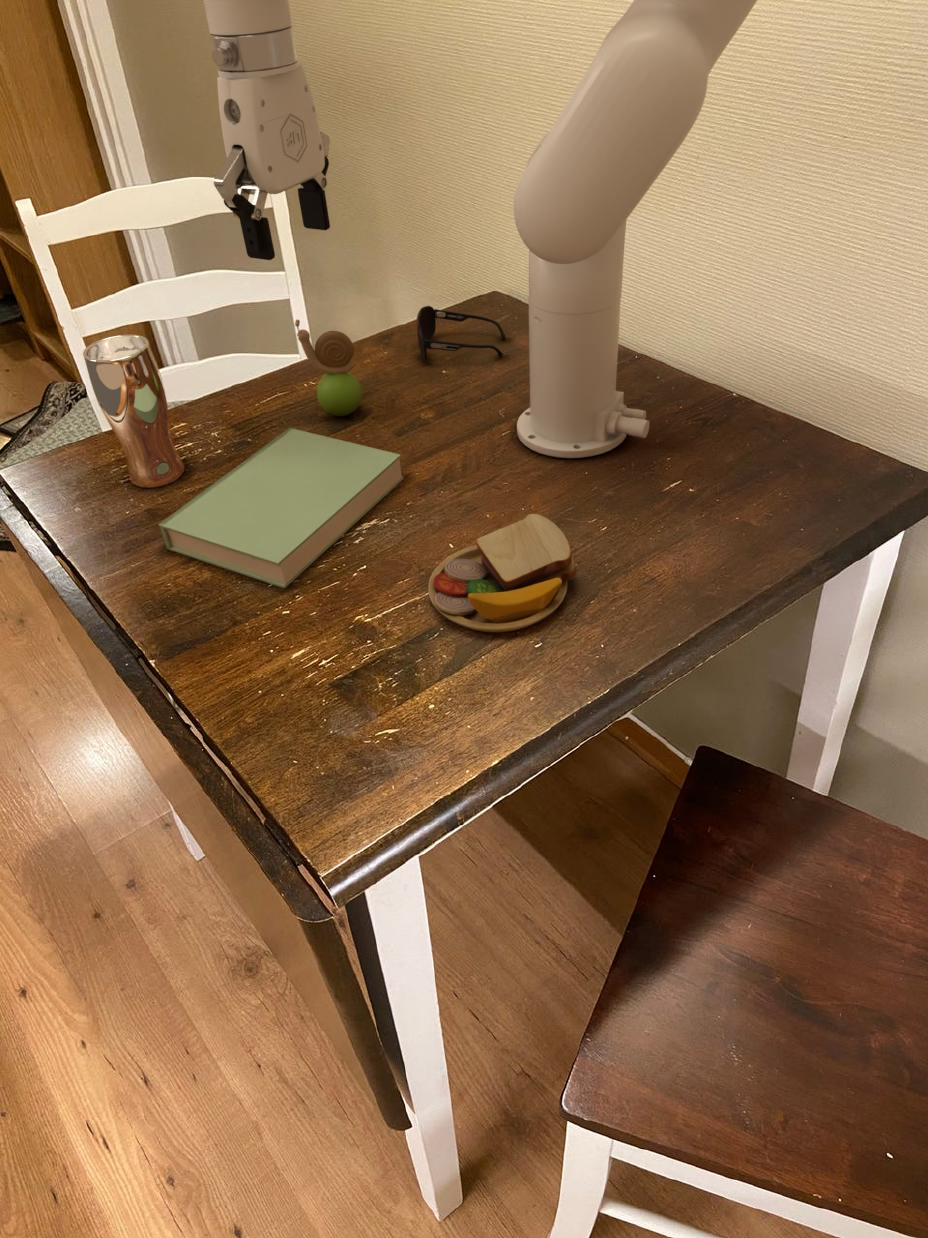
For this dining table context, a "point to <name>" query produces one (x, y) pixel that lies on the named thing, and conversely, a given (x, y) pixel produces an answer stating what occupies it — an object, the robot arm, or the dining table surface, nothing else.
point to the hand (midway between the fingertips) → (290, 242)
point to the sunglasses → (428, 327)
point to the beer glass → (135, 407)
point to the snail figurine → (333, 371)
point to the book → (283, 506)
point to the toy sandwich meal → (505, 577)
